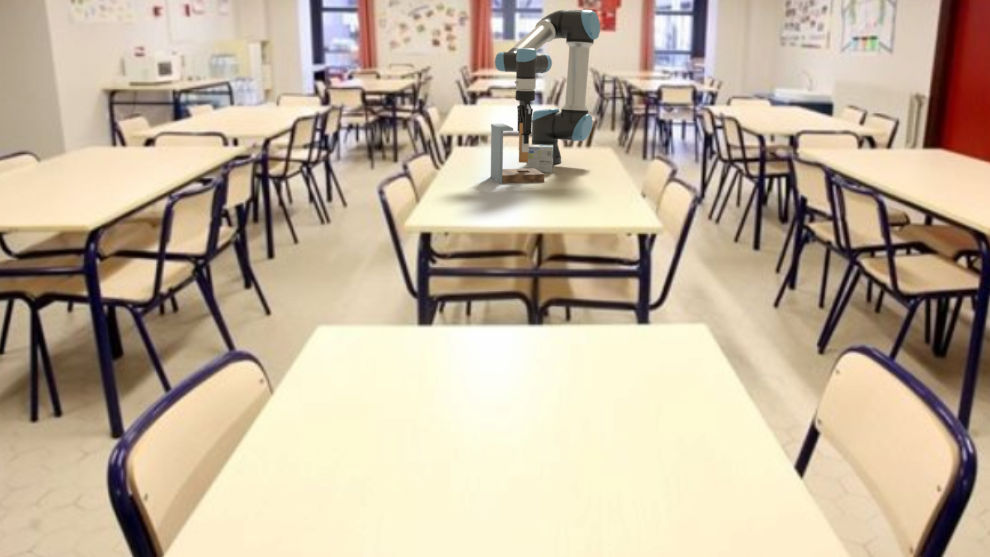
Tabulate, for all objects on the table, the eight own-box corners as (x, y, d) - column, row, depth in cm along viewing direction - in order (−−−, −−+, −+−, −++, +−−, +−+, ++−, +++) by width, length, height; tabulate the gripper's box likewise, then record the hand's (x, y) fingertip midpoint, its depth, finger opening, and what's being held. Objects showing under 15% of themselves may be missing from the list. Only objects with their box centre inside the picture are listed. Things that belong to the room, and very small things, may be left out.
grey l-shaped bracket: (502, 176, 335) (503, 123, 329) (512, 183, 321) (513, 128, 315) (490, 176, 334) (491, 123, 328) (499, 183, 320) (500, 128, 314)
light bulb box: (552, 170, 351) (553, 144, 348) (552, 173, 344) (553, 146, 341) (527, 169, 352) (528, 143, 349) (526, 172, 345) (527, 146, 342)
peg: (517, 161, 329) (518, 122, 324) (526, 161, 329) (527, 122, 325) (520, 162, 325) (521, 123, 321) (528, 162, 326) (530, 123, 322)
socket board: (534, 175, 338) (534, 168, 337) (544, 181, 325) (544, 174, 324) (493, 176, 334) (493, 169, 333) (502, 183, 321) (502, 175, 320)
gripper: (510, 88, 326) (509, 148, 333) (521, 91, 311) (520, 154, 317) (528, 88, 328) (527, 148, 335) (541, 91, 313) (539, 154, 319)
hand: (523, 151), depth 326 cm, fingers closed on peg, 3 cm apart
